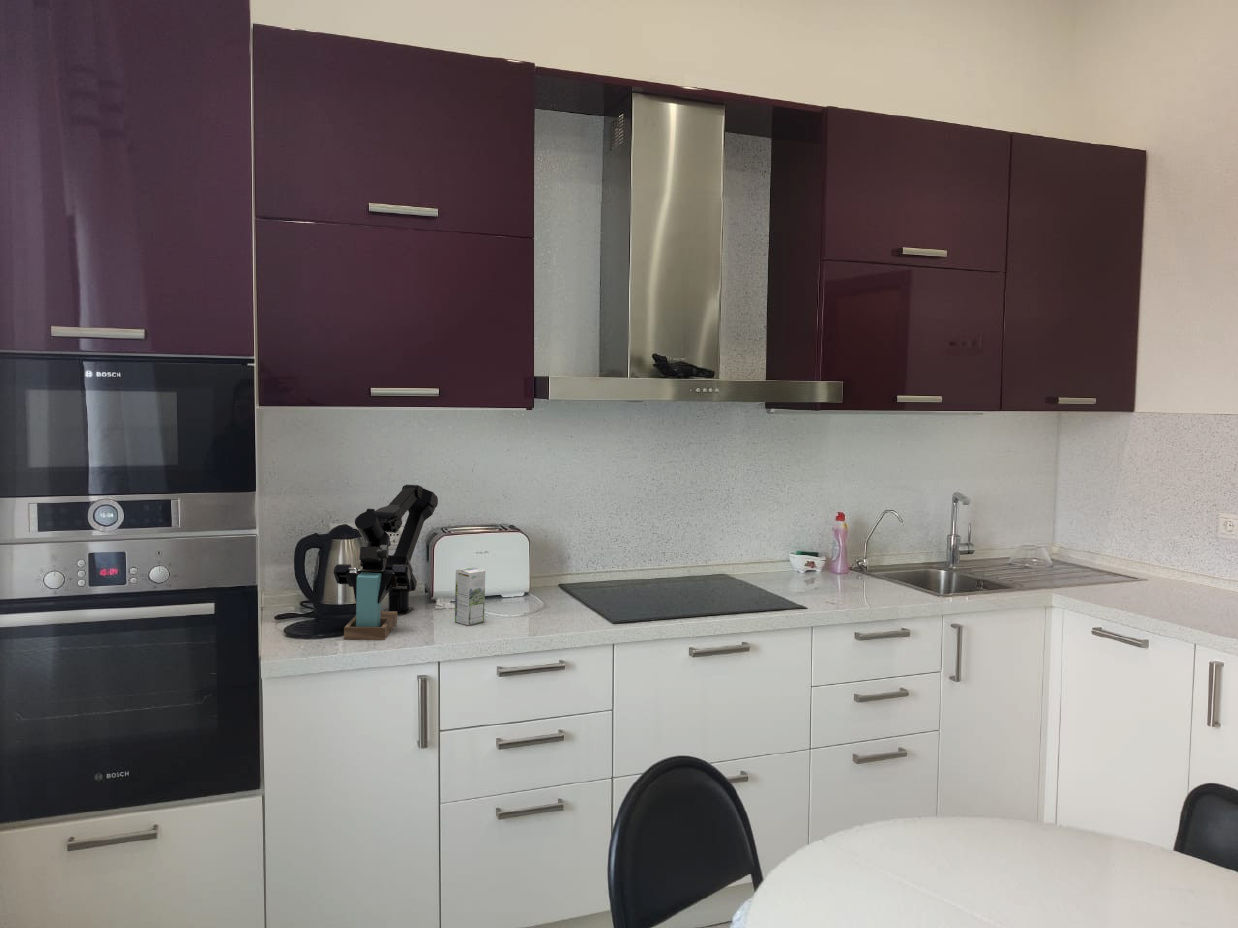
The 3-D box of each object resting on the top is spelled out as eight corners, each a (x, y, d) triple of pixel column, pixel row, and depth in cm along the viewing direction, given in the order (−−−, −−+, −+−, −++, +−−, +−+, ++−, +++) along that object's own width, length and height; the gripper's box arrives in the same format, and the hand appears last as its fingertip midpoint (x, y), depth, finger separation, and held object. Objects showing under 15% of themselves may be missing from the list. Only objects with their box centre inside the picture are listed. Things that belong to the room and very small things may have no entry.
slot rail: (359, 622, 248) (359, 611, 247) (397, 622, 248) (397, 611, 248) (344, 639, 231) (344, 627, 230) (384, 639, 231) (384, 627, 231)
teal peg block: (360, 625, 238) (361, 572, 237) (380, 626, 239) (381, 573, 237) (355, 631, 233) (356, 576, 232) (375, 632, 234) (376, 577, 232)
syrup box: (470, 618, 254) (470, 566, 253) (485, 622, 250) (485, 569, 249) (454, 622, 250) (454, 569, 248) (469, 626, 246) (469, 572, 245)
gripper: (335, 533, 237) (323, 584, 227) (408, 534, 238) (400, 585, 228) (342, 557, 246) (332, 608, 236) (413, 558, 247) (406, 609, 237)
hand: (367, 602), depth 234 cm, fingers open, 5 cm apart
